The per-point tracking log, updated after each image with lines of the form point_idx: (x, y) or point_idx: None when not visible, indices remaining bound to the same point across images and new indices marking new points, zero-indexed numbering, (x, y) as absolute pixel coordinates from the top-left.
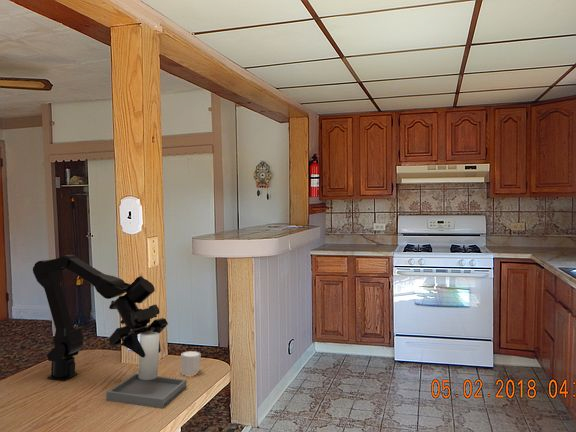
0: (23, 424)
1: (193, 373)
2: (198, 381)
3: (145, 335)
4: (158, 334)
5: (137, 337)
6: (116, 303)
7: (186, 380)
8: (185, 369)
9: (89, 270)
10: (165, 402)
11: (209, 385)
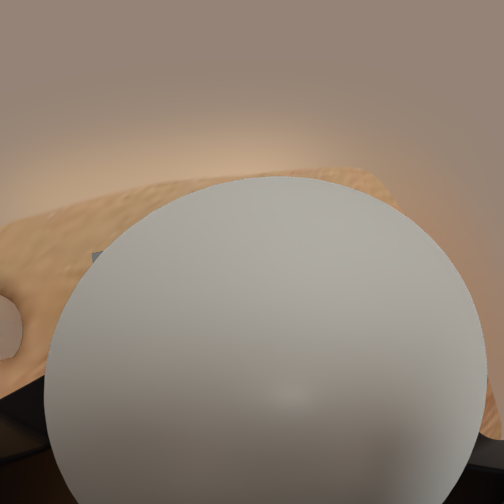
0: (493, 426)
1: (8, 301)
2: (42, 260)
3: (443, 405)
4: (191, 206)
5: (472, 462)
6: None
7: (93, 253)
8: (8, 327)
9: None
10: None
11: (61, 208)
